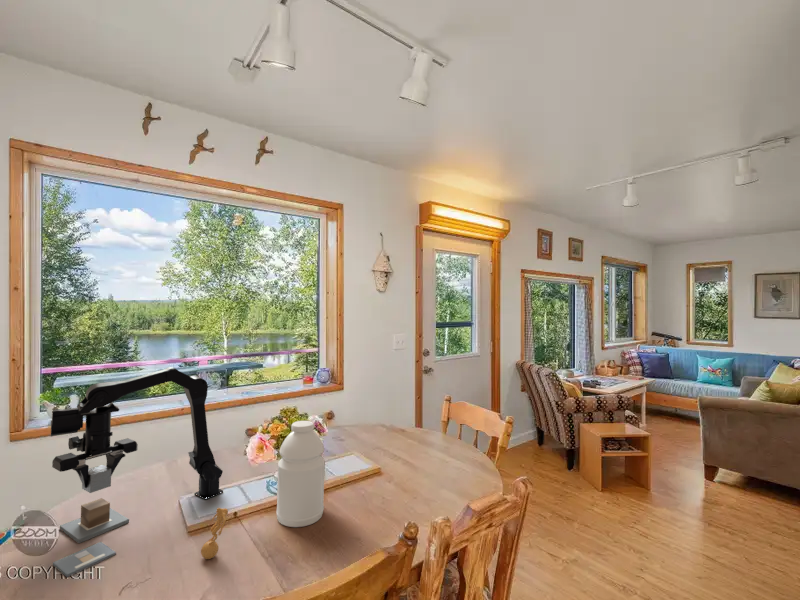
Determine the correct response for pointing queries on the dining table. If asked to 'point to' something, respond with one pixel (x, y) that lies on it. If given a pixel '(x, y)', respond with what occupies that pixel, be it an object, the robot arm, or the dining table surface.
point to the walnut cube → (95, 513)
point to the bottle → (300, 477)
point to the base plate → (84, 533)
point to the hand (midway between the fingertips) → (96, 483)
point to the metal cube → (98, 478)
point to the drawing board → (83, 559)
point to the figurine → (214, 535)
